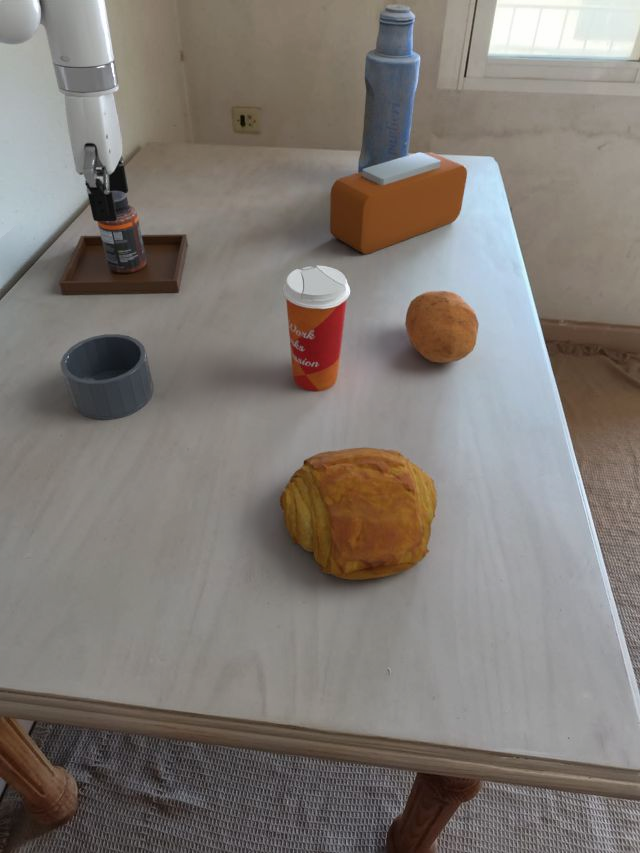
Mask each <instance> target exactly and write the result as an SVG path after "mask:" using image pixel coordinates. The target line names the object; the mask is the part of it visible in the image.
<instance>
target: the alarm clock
mask: <svg viewBox="0 0 640 853" xmlns="http://www.w3.org/2000/svg"><path fill="white" fill-rule="evenodd" d="M467 177H468V171H467V168H466V167H465V166H464V164H461V163H458V162H456V161H453V160H451V159H449V158H446V157H444V156H441V155H439V154H436V153H434V152H431V151H430V152H425V153H424V152H421V151H419V152H416V153H411V154H408V156H405V157H402V158H398V159H395V160H392V161H388V162H385V163H381V164H378V165H374V166H371V167H368V168H364V169H363V172H360V173H358V172H357V173H353V174H350V175H347V176H343V177H339V178H338V179H337V180H336V181H335V182H334V183H333V185H332V187H331V188H330V189H331V190H330V201H329V202H330V207H329V208H330V209H329V231H330V232H329V233H330V234H331V236H333V237H335V239H338V240H339V241H341V242H342V243H344V244H345V245H348V246H350V247H352V248H353V249H355V250H356V251H358V252H359V253H361V254H363V255H368V254H371V253H375V252H377V251H380V250H383V249H385V248H388V247H390V246H393V245H395V244H398V243H399V244H400V243H401V242H404V241H406V240H409V239H412V238H414V237H417V236H419V235H422V234H425V233H428V232H431V231H433V230H435V229H439V228H441V227H443V226H446V225H449V224H452V223H453V222H455V221H456V220H457V218H459V215H460V214H461V211H462V206H463V200H464V194H465V189H466V184H467V183H466V182H467Z"/></svg>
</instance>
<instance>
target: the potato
mask: <svg viewBox="0 0 640 853" xmlns="http://www.w3.org/2000/svg"><path fill="white" fill-rule="evenodd" d="M404 325H405V330H406V333H407V335H408V338H409V341H410V343H411V344H412V346H413V347H414V348H415V349H416V351H418V352H419V354H420V355H421V356H423V357H424V359H426V360H428V361H430V362H433V363H437V364H441V363H442V364H443V363H452V362H457V361H460V360H462V359H464V358H466V357H467V356H469V354H471V353H472V352H473V351H474V348H475V346H476V345H477V338H478V333H479V321H478V318H477V315H476V312H475V310H474V309H473V308H472V307H471V306H470V305H469V304H468V303H467V302H466V301H465V300H464V299H463V298H462V297H461V296H460V295H458V294H457V293H455V292H452V291H447V290H435V291H433V290H432V291H425V292H422V293H421V294H419V295H417V296H416V297H414V298H413V299H412V300H411V301H410V303H409V306H408V308H407V311H406V314H405V322H404Z"/></svg>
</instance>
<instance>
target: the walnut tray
mask: <svg viewBox="0 0 640 853" xmlns="http://www.w3.org/2000/svg"><path fill="white" fill-rule="evenodd" d="M141 235H142V240H143V245H144V249H145V255H146V265H145V266H144V267H143V268H142V269H140V270H138V271H136V272H133V273H117V272H114V271H112V270H111V269H110V268H109V265H108V262H107V258H106V254H105V250H104V246H103V242H102V238H101V235H81V236H80V237H79V240H78V242H77V244H76V245H75V248H74V251H73V252H72V254H71V256H70V258H69V261H68V264H67V265H66V267H65V269H64V271H63V274H62V276H61V277H60V280H59V282H58V285H59V289H60V292H61V295H62V296H73V295H75V296H76V295H79V296H80V295H125V294H128V295H129V294H178V293H179V292H180V288H181V282H182V278H183V273H184V269H185V268H184V267H185V263H186V262H185V261H186V255H187V251H188V246H189V243H188V237H187V233H186V234H183V233H182V234H178V233H177V234H141Z"/></svg>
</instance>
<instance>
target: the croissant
mask: <svg viewBox="0 0 640 853" xmlns="http://www.w3.org/2000/svg"><path fill="white" fill-rule="evenodd" d="M437 503H438V500H437V490H436V487H435V481H434V479H433V478H432V477H431V476H430V475H429V474H428V473H426V472H424V471H423V469H422V468H420V467H419V466H418V464H415V463H413V462H412V461H410V459H409V458H407V457H405V456H404V455H402V453H401V452H400V451H398V450H392V449H384V448H375V447H366V446H365V447H353V448H345V449H340V450H328V451H323V452H320V453H317V454H315V455H312V456H310V457H308V458H306V459H304V460H303V464H302V466H301V467H300V468H298V469H296V471H295V472H294V473H293V474H292V476H290V480H289V482H287V484H286V485H285V488H284V490H282V492H281V495H280V498H279V505H280V507H281V509H282V512H283V521H284V522H283V523H284V525H285V528H286V530H287V532H288V533H289V535H290V536H291V541H292V543H293V544H295V545H297V544H298V545H299V546H300V547H302V549H303V550H304V551H307V552H310V553H313V558H314V560H315V561H316V564H317V565H318V567H319V568H320V570H321V571H322V572H323V574H329V575H331V576H335V577H337V578H341V579H344V580H350V581H353V580H354V581H355V580H360V581H361V580H368V579H379V578H384V577H390V576H393V575H396V574H399V573H401V572H402V571H403V572H406V571H407V570H409V569H411V568H413V567H414V566H415V565H416V564H418V562H419V563H420V562H422V561H423V559H425V557H426V556H427V554H428V553H429V552H430V550H429V549H428V545H429V543H430V538H431V532H432V531H431V530H432V527H431V525H432V524H433V521H434V519H435V517H436V509H437V505H438V504H437Z"/></svg>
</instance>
